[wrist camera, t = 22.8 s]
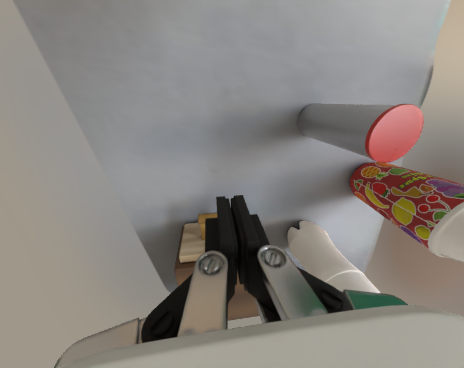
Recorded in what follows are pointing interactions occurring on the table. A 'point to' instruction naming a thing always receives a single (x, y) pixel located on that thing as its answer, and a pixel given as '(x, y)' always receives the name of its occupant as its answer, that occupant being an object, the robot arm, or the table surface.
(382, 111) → the spice tin
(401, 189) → the smoothie
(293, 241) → the water bottle
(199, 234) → the drawer
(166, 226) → the table surface
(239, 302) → the cabinet
